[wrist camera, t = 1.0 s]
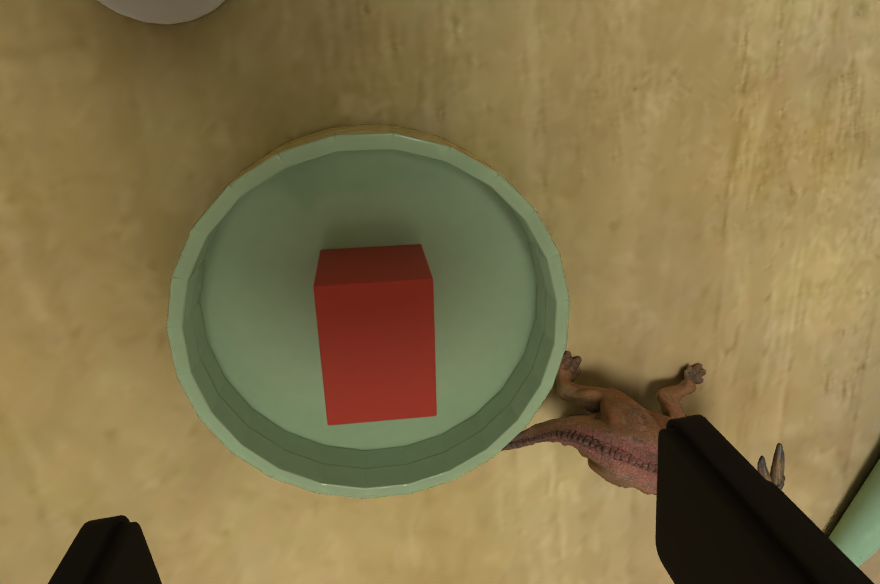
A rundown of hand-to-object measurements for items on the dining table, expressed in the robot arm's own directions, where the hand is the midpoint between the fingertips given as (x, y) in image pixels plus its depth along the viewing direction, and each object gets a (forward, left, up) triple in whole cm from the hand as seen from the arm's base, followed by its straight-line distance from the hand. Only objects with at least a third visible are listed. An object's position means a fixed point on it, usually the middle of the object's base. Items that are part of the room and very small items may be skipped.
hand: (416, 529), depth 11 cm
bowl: (+2, -2, -17) cm, 18 cm away
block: (+2, -2, -17) cm, 17 cm away
